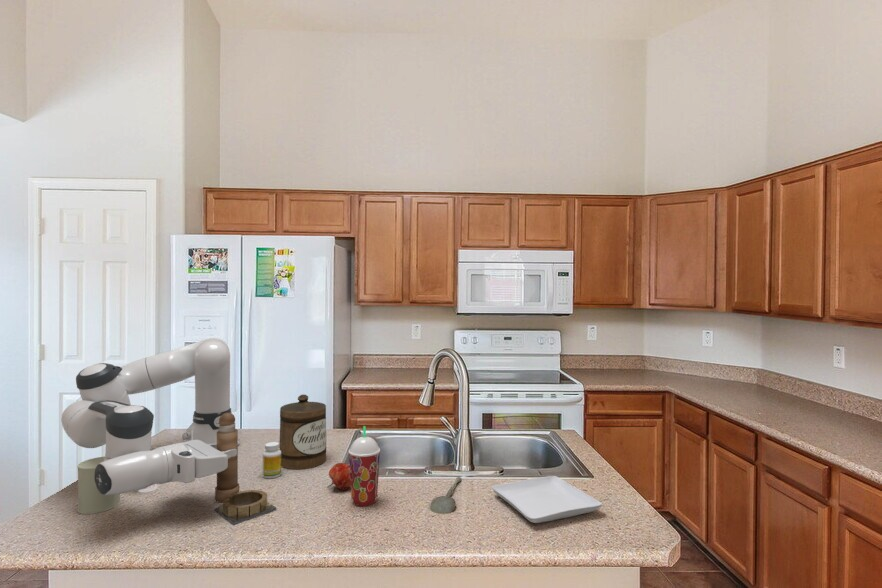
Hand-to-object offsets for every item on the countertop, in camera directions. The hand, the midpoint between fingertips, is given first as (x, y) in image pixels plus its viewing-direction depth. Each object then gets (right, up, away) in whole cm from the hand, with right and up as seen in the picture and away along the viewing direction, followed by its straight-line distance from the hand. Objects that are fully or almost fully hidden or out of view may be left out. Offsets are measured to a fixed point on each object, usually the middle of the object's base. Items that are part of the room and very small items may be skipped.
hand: (230, 448), depth 131 cm
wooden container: (+12, -13, +27) cm, 33 cm away
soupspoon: (+60, -14, +1) cm, 61 cm away
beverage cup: (-26, -13, +5) cm, 29 cm away
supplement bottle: (+6, -13, +15) cm, 21 cm away
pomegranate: (+29, -13, +6) cm, 32 cm away
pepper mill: (-1, -13, -1) cm, 13 cm away
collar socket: (+7, -13, -8) cm, 17 cm away
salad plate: (+84, -14, -5) cm, 86 cm away
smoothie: (+37, -13, -3) cm, 39 cm away
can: (-32, -13, -6) cm, 35 cm away
